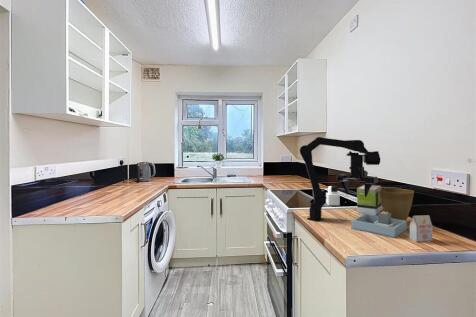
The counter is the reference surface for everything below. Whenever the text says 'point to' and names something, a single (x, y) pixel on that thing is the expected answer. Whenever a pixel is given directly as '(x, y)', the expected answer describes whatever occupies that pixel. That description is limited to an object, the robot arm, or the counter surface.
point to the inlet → (386, 224)
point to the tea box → (369, 200)
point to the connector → (384, 218)
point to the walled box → (378, 226)
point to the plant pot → (396, 202)
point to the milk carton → (421, 229)
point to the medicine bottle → (333, 196)
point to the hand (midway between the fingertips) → (356, 195)
